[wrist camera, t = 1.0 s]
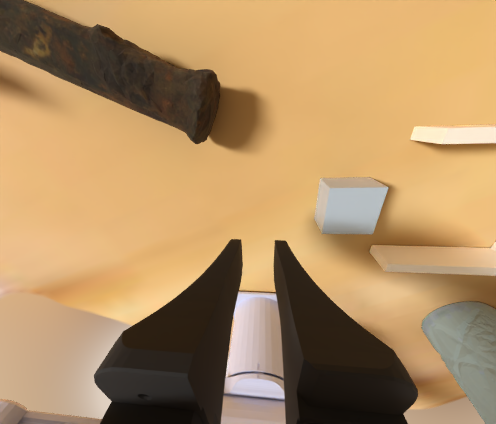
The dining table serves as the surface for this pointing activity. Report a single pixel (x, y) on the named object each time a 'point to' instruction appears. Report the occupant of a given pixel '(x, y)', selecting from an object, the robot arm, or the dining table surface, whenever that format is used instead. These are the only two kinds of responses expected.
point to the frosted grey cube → (349, 205)
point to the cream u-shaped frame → (434, 257)
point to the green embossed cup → (468, 350)
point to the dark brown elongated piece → (110, 67)
